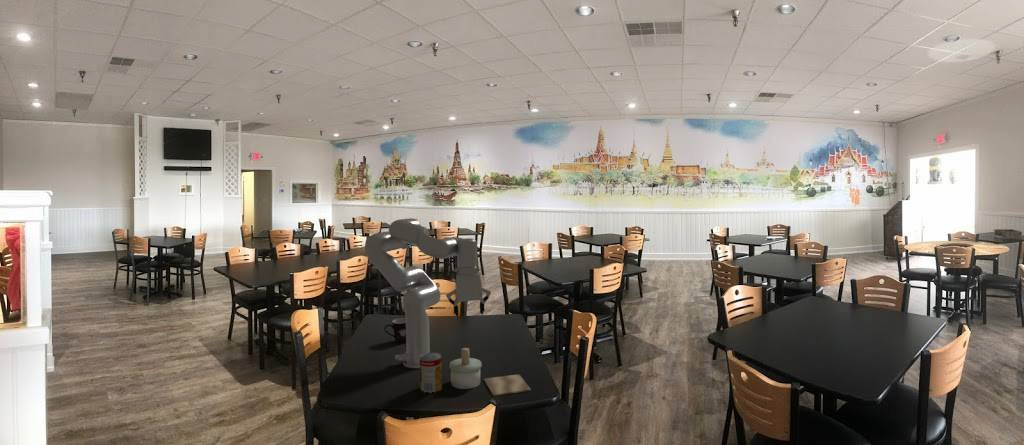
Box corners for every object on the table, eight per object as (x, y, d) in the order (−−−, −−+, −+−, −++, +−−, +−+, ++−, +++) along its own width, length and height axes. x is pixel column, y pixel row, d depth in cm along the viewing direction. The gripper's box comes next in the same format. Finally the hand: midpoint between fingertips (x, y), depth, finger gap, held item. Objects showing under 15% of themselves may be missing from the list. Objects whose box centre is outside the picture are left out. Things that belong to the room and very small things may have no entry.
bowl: (453, 390, 172) (453, 373, 171) (448, 378, 182) (448, 362, 181) (483, 386, 175) (483, 370, 174) (476, 375, 185) (476, 359, 185)
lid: (452, 374, 170) (452, 356, 170) (447, 362, 182) (446, 345, 181) (484, 370, 174) (484, 353, 173) (477, 358, 185) (477, 342, 185)
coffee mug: (413, 338, 228) (413, 318, 228) (408, 344, 220) (407, 323, 219) (390, 338, 230) (389, 317, 229) (383, 344, 221) (383, 323, 220)
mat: (493, 396, 167) (493, 394, 167) (483, 380, 180) (483, 378, 180) (530, 390, 171) (530, 389, 171) (519, 375, 184) (519, 374, 184)
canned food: (443, 383, 178) (442, 352, 177) (440, 392, 170) (440, 360, 169) (422, 383, 177) (421, 352, 176) (418, 393, 170) (417, 360, 169)
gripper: (446, 273, 177) (448, 318, 179) (491, 270, 181) (493, 314, 183) (444, 270, 184) (445, 313, 186) (488, 267, 189) (489, 310, 190)
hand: (469, 314), depth 184 cm, fingers open, 9 cm apart
